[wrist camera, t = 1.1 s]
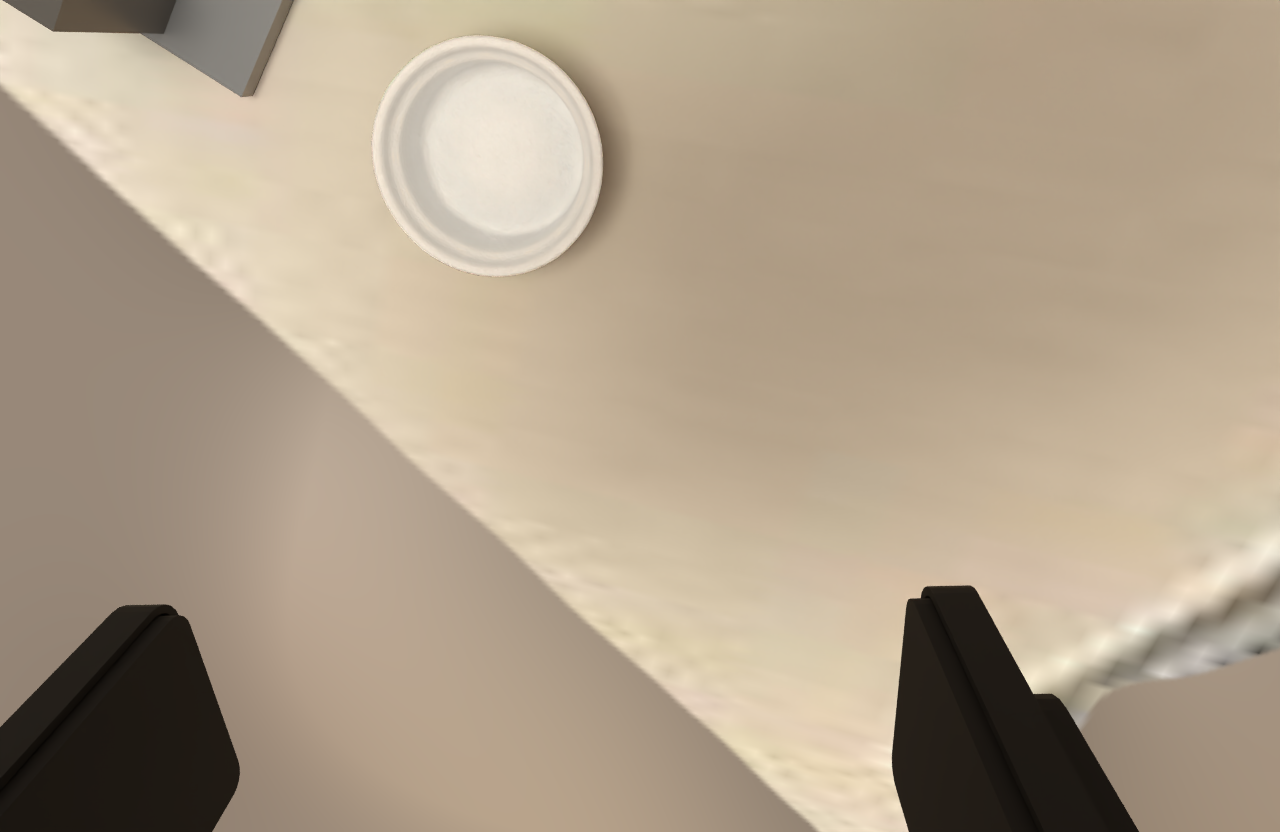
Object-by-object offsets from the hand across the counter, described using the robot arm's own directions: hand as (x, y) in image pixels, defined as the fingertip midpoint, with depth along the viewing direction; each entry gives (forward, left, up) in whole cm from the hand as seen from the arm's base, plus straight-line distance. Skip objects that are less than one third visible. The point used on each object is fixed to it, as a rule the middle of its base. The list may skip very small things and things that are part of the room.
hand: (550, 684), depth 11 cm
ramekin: (0, -6, -29) cm, 29 cm away
